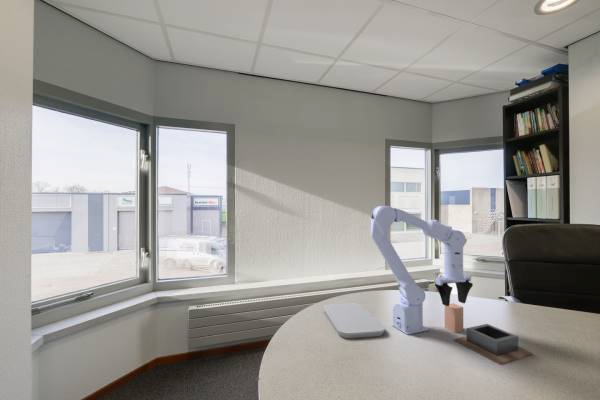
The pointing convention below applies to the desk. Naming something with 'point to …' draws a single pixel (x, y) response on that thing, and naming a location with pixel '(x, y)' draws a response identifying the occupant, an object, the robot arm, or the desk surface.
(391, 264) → the robot arm
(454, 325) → the peg
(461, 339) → the socket board
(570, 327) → the desk surface
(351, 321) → the tablet
